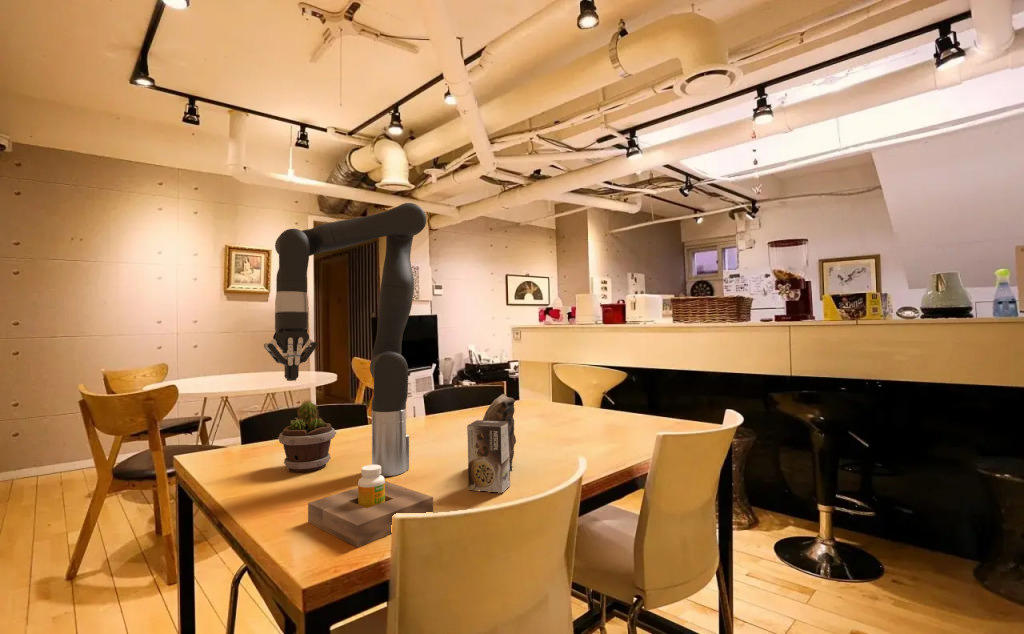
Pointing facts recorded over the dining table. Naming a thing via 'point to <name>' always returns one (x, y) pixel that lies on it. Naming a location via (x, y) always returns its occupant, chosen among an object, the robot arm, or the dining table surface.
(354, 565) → the dining table surface
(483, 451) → the coffee box
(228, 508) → the dining table surface
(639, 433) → the dining table surface
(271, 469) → the dining table surface
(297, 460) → the flowerpot
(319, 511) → the socket board
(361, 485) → the supplement bottle
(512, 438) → the owl
